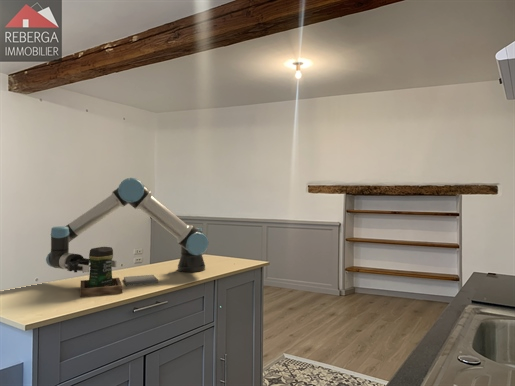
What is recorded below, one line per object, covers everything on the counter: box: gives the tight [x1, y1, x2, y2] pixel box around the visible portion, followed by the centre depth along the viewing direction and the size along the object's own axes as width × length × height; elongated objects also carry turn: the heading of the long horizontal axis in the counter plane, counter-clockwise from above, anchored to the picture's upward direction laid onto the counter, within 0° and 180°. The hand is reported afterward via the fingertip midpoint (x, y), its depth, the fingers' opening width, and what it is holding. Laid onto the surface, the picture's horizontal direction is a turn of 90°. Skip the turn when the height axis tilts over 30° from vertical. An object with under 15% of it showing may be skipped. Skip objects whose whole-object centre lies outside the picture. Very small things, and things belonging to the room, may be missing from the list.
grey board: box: [123, 274, 159, 286], centre depth 182 cm, size 14×13×2 cm
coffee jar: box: [87, 246, 114, 288], centre depth 164 cm, size 10×8×19 cm
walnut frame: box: [79, 277, 123, 298], centre depth 164 cm, size 16×18×3 cm
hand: (102, 266), depth 164 cm, fingers open, 13 cm apart
